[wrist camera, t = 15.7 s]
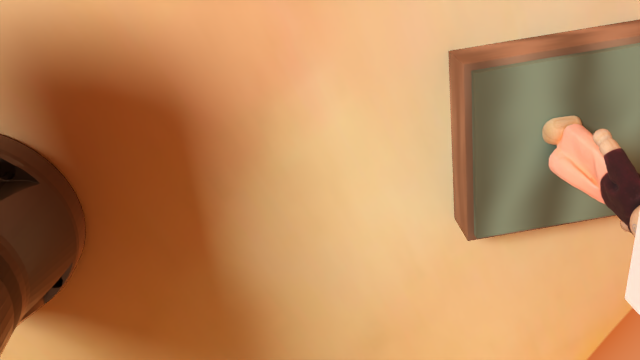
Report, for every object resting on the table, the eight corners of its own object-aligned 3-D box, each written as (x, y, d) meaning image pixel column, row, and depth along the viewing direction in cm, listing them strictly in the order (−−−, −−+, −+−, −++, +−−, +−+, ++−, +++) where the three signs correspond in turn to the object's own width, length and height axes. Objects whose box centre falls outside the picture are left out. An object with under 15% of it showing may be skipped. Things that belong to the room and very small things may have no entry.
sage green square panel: (454, 218, 48) (470, 245, 44) (448, 51, 41) (466, 67, 38) (621, 189, 48) (650, 214, 45) (641, 19, 42) (677, 32, 38)
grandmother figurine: (518, 126, 40) (620, 222, 29) (567, 91, 39) (691, 176, 28) (569, 199, 43) (679, 311, 32) (615, 168, 42) (744, 272, 31)
